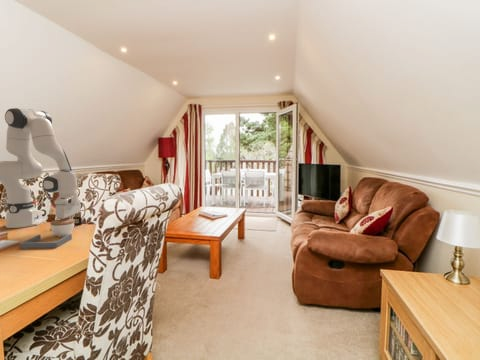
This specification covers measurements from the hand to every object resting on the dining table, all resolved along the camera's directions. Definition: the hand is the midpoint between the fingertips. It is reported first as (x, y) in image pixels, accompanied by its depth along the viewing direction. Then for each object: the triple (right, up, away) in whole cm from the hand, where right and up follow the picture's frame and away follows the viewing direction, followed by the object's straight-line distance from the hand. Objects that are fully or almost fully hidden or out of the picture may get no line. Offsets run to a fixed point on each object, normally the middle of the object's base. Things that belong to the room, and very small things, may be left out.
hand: (70, 223), depth 154 cm
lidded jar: (0, -6, -6) cm, 9 cm away
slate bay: (+2, -7, -20) cm, 22 cm away
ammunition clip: (-7, -4, +14) cm, 16 cm away
